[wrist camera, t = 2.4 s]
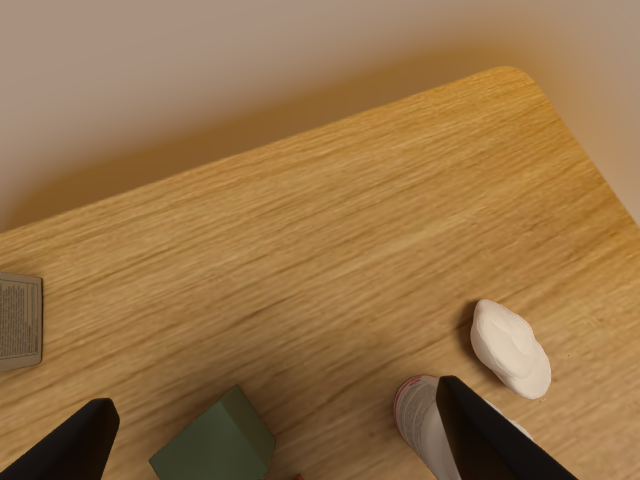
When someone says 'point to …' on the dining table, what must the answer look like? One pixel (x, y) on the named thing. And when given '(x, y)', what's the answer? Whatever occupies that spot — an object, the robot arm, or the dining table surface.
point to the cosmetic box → (20, 321)
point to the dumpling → (510, 349)
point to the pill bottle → (428, 425)
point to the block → (219, 444)
